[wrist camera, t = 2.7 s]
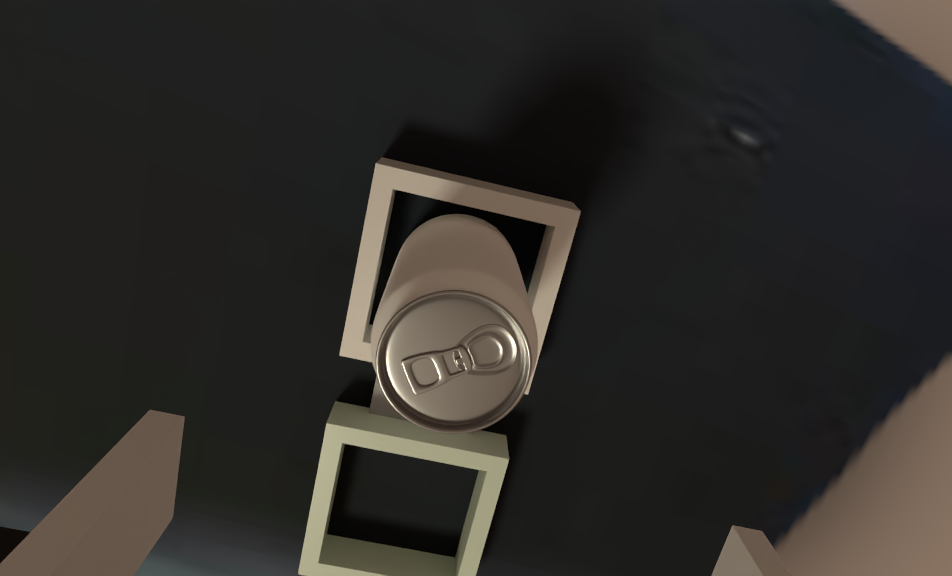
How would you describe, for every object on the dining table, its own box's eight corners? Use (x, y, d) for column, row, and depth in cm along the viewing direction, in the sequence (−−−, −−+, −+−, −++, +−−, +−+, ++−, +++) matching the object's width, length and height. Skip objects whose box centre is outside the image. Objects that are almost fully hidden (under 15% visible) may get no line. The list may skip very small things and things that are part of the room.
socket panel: (382, 157, 33) (375, 163, 30) (572, 202, 34) (580, 211, 31) (307, 544, 40) (297, 574, 37) (467, 573, 41) (467, 603, 38)
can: (532, 305, 35) (566, 413, 24) (421, 343, 36) (402, 466, 24) (494, 194, 33) (511, 253, 22) (377, 235, 34) (334, 314, 23)
